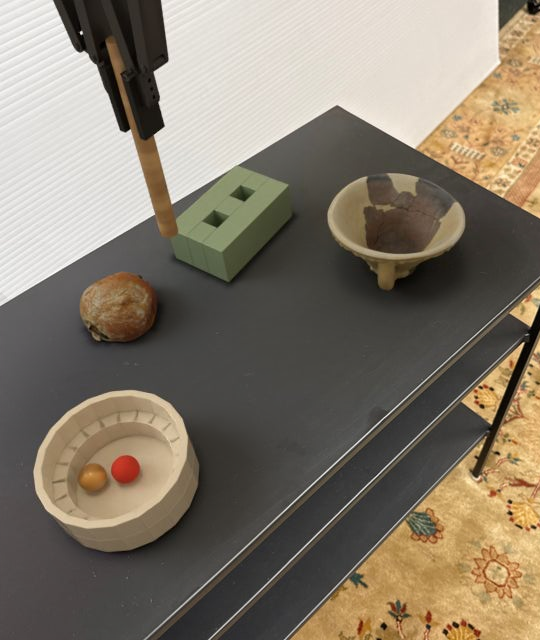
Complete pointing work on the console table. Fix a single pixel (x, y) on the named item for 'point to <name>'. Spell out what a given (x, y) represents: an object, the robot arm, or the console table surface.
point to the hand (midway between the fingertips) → (142, 128)
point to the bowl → (395, 223)
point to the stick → (146, 156)
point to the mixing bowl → (104, 448)
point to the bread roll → (118, 307)
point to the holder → (231, 222)
